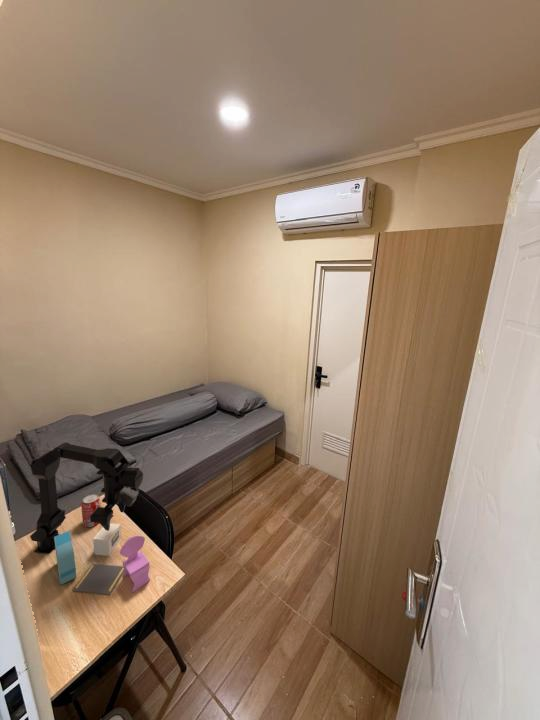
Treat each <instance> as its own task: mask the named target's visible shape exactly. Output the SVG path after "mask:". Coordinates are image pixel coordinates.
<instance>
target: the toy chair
mask: <svg viewBox="0 0 540 720" xmlns="http://www.w3.org/2000/svg"><path fill="white" fill-rule="evenodd" d="M145 541H146V539H145V537H144V536H143V535H134V536H131V537H129V538H128V539H127V540H126V541H125V542H124V544H123V545H122V546H121V547H120V550H119V555H121V556H122V557H124V558H127V559H125V560H123V561H122V566H124V567H125V571H124V573H123V575H122V577H125V576H127V575H129V577H130V579H131V580H132V583H133V588H132V589H131V593H134V592H136V591H137V590H138V589H140V588H141V587H142V586H144V585H145V584H147V583H148V582H150V581H151V578H150V576H149V571H150V561H149V559H148V558H147V557H146V556H145V554H144V553H143V551H142V550H141V549H142V548H143V546H144V544H145Z"/></svg>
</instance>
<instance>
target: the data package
mask: <svg viewBox="0 0 540 720" xmlns="http://www.w3.org/2000/svg"><path fill="white" fill-rule="evenodd" d="M54 541H55V549H54V550H55V556H56V557H55V558H56V563H57V572H58V578H59V584H60V586H63V585H64V584H66V583H68V582H70V581H72V580H74V579H76V578H77V569H76V561H75V559H76V558H75V551H74V546H73V541H72V537H71V532H70V531H69V530H68V531H65V532H63V533H60V534H59V535H57V536H55V537H54Z"/></svg>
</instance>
